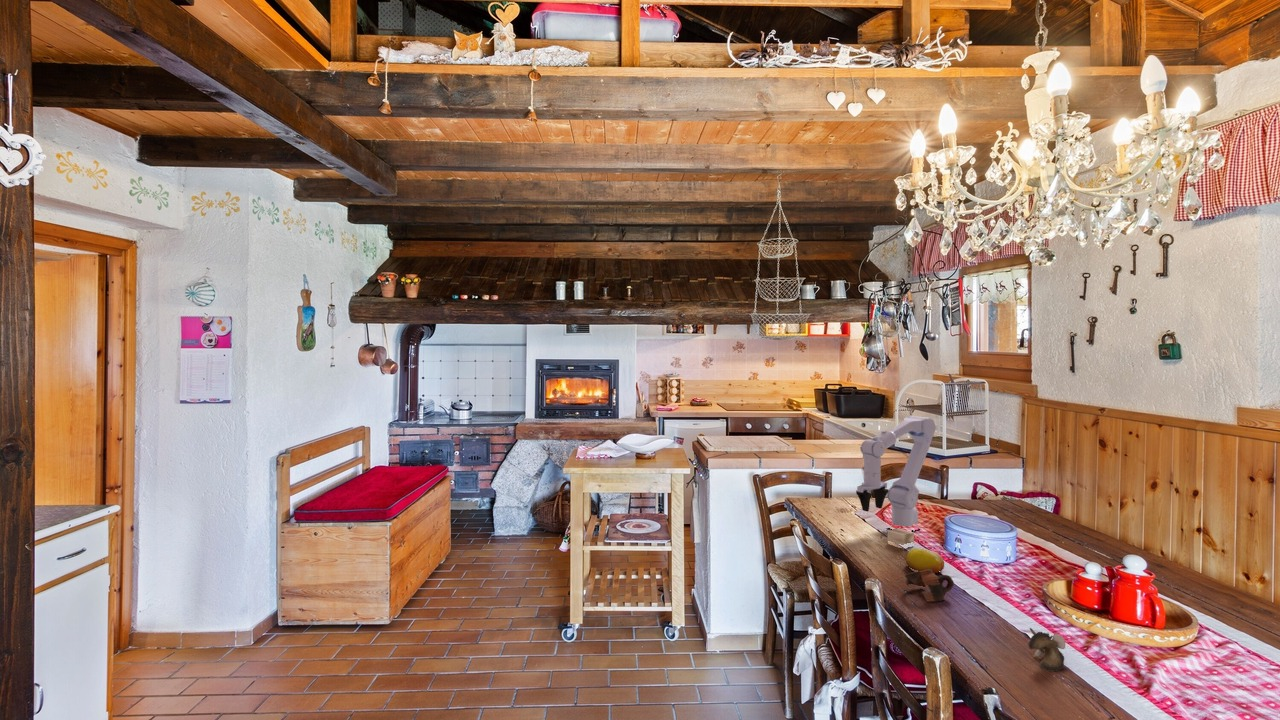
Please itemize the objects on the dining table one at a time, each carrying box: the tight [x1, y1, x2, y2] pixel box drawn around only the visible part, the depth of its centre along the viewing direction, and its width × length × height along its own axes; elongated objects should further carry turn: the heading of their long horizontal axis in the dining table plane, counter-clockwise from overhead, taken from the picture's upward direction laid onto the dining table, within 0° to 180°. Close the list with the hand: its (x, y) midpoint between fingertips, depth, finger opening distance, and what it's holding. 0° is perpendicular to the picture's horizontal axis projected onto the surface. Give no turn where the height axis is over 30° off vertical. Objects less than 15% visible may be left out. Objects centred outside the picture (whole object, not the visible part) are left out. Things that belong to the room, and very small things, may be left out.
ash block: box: [887, 528, 915, 545], centre depth 202 cm, size 6×6×5 cm
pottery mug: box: [905, 570, 955, 602], centre depth 160 cm, size 12×10×8 cm
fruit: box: [905, 547, 945, 574], centre depth 179 cm, size 11×10×8 cm
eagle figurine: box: [1027, 627, 1066, 672], centre depth 126 cm, size 8×7×9 cm
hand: (872, 509), depth 214 cm, fingers open, 7 cm apart
